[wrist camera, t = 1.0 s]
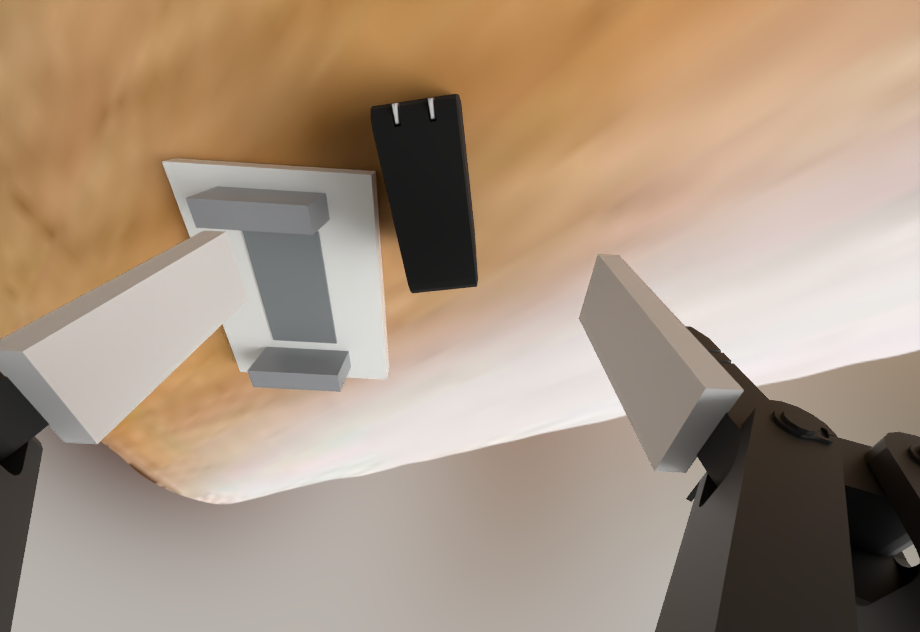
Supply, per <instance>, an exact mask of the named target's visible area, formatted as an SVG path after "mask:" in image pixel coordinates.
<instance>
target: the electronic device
mask: <svg viewBox="0 0 920 632" xmlns="http://www.w3.org/2000/svg"><path fill="white" fill-rule="evenodd" d="M371 123H372V129H373V134H374V138H375V142H376V147H377V151H378V155H379V160H380V164H381V168H382V173H383V177H384V181H385V186H386V190H387V194H388V199H389V203H390V208H391V212H392V216H393V221H394V225H395V229H396V234H397V238H398V242H399V247H400V251H401V255H402V260H403V264H404V268H405V273H406V277H407V281H408V285H409V288H410V291H411V292H412V293H419V292H429V291H438V290H448V289H457V288H467V287H476V286H477V282H478V274H477V259H476V244H475V230H474V220H473V211H472V201H471V192H470V182H469V173H468V163H467V154H466V144H465V135H464V125H463V116H462V106H461V100H460V97H459V95H458V94H452V95H445V96H439V97H433V98H425V99H419V100H412V101H405V102H400V103H392V104H385V105H378V106H372V108H371Z"/></svg>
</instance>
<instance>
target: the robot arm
mask: <svg viewBox="0 0 920 632" xmlns="http://www.w3.org/2000/svg"><path fill="white" fill-rule="evenodd" d="M247 300H248V298H247V295H246V291H245V288H244V285H243V282H242V279H241V276H240V273H239V270H238V267H237V264H236V260H235V257H234V254H233V251H232V248H231V245H230V242H229V239H228V236H227V232H225V231H208V230H204V231H202V232H200V233H198V234H196V235H194V236H192V237H190V238H189V239H187V240H185V241H183V242H181V243H179V244H177V245H176V246H174V247H172V248H170V249H168V250H166V251H164V252H162V253H161V254H159V255H157V256H155V257H153V258H151V259H149V260H147V261H146V262H144V263H142V264H140V265H138V266H136V267H134V268H132V269H131V270H129V271H127V272H125V273H123V274H121V275H119V276H117V277H116V278H114V279H112V280H110V281H108V282H106V283H104V284H103V285H101V286H99V287H97V288H95V289H93V290H91V291H89V292H88V293H86V294H84V295H82V296H80V297H78V298H76V299H74V300H73V301H71V302H69V303H67V304H65V305H63V306H61V307H59V308H58V309H56V310H54V311H52V312H50V313H48V314H46V315H45V316H43V317H41V318H39V319H37V320H35V321H33V322H31V323H30V324H28V325H26V326H24V327H22V328H20V329H18V330H16V331H15V332H13V333H11V334H9V335H7V336H5V337H3V338H1V339H0V632H10V631H11V626H12V620H13V614H14V609H15V603H16V597H17V591H18V586H19V580H20V575H21V569H22V563H23V557H24V552H25V546H26V541H27V535H28V529H29V524H30V518H31V513H32V507H33V501H34V496H35V490H36V484H37V479H38V473H39V467H40V462H41V456H42V450H43V448H42V445H41V443H40V442H39V440H38V439H37V438H36V437H35V435H36V434H38V433H39V432H40V431H41V430H43V429H44V428H45V427H46V426H48V425H49V426H50V427H51V429H52V430H53V431H54V432H55V433H56V434H57V435H58V436H59V437H60V439H61V440H62V441H63V442H66V443H67V442H68V443H86V444H87V443H88V444H98V443H99V442H100V441H101V440H102V439H103V438H104V437H105V436H106V435H107V434H108V433H109V432H111V431H112V430H113V429H114V428H115V427H116V426H117V425H118V424H119V423H120V422H121V421H122V420H123V419H124V418H125V417H126V416H127V415H128V414H129V413H130V412H131V411H132V410H133V409H134V408H136V407H137V406H138V405H139V404H140V403H141V402H142V401H143V400H144V399H145V398H146V397H147V396H148V395H149V394H150V393H151V392H152V391H153V390H154V389H155V388H156V387H157V386H158V385H159V384H161V383H162V382H163V381H164V380H165V379H166V378H167V377H168V376H169V375H170V374H171V373H172V372H173V371H174V370H175V369H176V368H177V367H178V366H179V365H180V364H181V363H182V362H183V361H185V360H186V359H187V358H188V357H189V356H190V355H191V354H192V353H193V352H194V351H195V350H196V349H197V348H198V347H199V346H200V345H201V344H202V343H203V342H204V341H205V340H206V339H207V338H208V337H210V336H211V335H212V334H213V333H214V332H215V331H216V330H217V329H218V328H219V327H220V326H221V325H222V324H223V323H224V322H225V321H226V320H227V319H228V318H229V317H230V316H231V315H232V314H233V313H235V312H236V311H237V310H238V309H239V308H240V307H241V306H242V305H243V304H244V303H245V302H246V301H247ZM579 319H580V321H581V323H582V325H583V327H584V329H585V331H586V333H587V335H588V337H589V340H590V342H591V344H592V346H593V348H594V350H595V352H596V354H597V356H598V358H599V360H600V362H601V364H602V366H603V368H604V370H605V372H606V374H607V376H608V378H609V380H610V382H611V384H612V386H613V388H614V390H615V392H616V394H617V396H618V398H619V400H620V402H621V404H622V406H623V408H624V410H625V412H626V414H627V416H628V418H629V420H630V422H631V425H632V426H633V429H634V431H635V433H636V435H637V437H638V439H639V441H640V443H641V445H642V447H643V449H644V451H645V452H646V455H647V457H648V459H649V461H650V463H651V465H652V467H653V469H654V471H663V472H683V473H686V472H687V471H688V469H689V468H690V466H691V465H692V463H693V462H694V461H695V459H696V458H697V457H698V458H699V460H700V461H701V463H702V465H703V466H704V468H705V469H706V471H707V472H706V473H705V475H704V476H703V477H702V479H701V480H700V481H699V482H698V484H697V485H696V486H695V488H694V489H693V490H692V492H691V493H690V494H689V496H688V497H687V498H686V499H687V500H689V501H692V500H693V499H694V498H695V499H694V502H693V506H692V509H691V512H690V516H689V519H688V522H687V526H686V529H685V533H684V536H683V539H682V543H681V546H680V549H679V553H678V556H677V560H676V563H675V566H674V569H673V573H672V576H671V580H670V583H669V586H668V590H667V593H666V596H665V600H664V603H663V606H662V610H661V613H660V617H659V620H658V623H657V627H656V630H655V632H920V564H918V565H917V566H914V567H911V566H910V565H909V564H908V562H907V560H906V558H905V556H904V554H903V552H902V551H903V550H904V549H906V548H908V547H909V546H911V545H912V544H914V546H915V548H916V549H917V552H918V555H919V558H920V437H918V436H915V435H911V434H906V433H901V432H894V433H888V434H887V435H886V436H884V437H883V438H882V439H881V440H880V441H879V442H878V443H877V444H875V445H874V446H873V447H871V446H867V445H864V444H860V443H856V442H853V441H849V440H845V439H842V438H838V437H837V436H836V434H835V433H834V432H833V431H832V430H831V429H830V428H829V427H828V426H827V425H826V424H825V423H824V422H822V421H820V420H819V419H818V418H816V417H815V416H814V415H812V414H810V413H808V412H806V411H804V410H802V409H801V408H799V407H797V406H793V405H791V404H787V403H785V402H781V401H774V400H769V399H768V398H767V397H766V396H765V395H764V394H763V393H762V392H761V391H760V390H759V389H758V388H757V387H756V386H755V385H754V384H753V383H752V382H751V381H750V380H749V379H748V378H747V377H746V376H745V375H744V374H743V373H742V372H741V371H740V370H739V368H738V367H737V366H736V365H735V364H731V360H730V359H729V358H728V357H727V356H726V355H725V354H724V353H721V350H720V349H719V348H718V347H717V346H716V345H715V344H714V343H713V342H712V341H711V340H710V339H709V338H708V337H706V336H705V335H703V334H702V333H700V332H698V331H697V330H695V329H694V328H692V327H686V326H684V325H683V324H682V323H681V321H680V320H679V319H678V318H677V317H676V316H675V315H674V314H673V313H672V312H671V311H670V310H669V309H668V307H667V306H666V305H665V304H664V303H663V302H662V301H661V300H660V299H659V298H658V297H657V296H656V294H655V293H654V292H653V291H652V290H651V289H650V288H649V287H648V286H647V285H646V284H645V283H644V282H643V280H642V279H641V278H640V277H639V276H638V275H637V274H636V273H635V272H634V271H633V270H632V269H631V267H630V266H629V265H628V264H627V263H626V262H625V261H624V260H623V259H622V258H621V257H620V256H619V255H606V254H598V256H597V259H596V262H595V266H594V269H593V273H592V276H591V279H590V283H589V286H588V289H587V293H586V296H585V300H584V303H583V306H582V310H581V313H580V317H579Z"/></svg>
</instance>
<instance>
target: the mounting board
mask: <svg viewBox="0 0 920 632" xmlns="http://www.w3.org/2000/svg"><path fill="white" fill-rule="evenodd" d="M162 163H163V166H164V169H165V171H166V174H167V177H168V180H169V182H170V185H171V188H172V190H173V193H174V196H175V198H176V201H177V204H178V206H179V209H180V212H181V214H182V217H183V220H184V222H185V225H186V228H187V230H188V233H189V236H190V237H192V236H194V235H196V234H198V233H200V232H202V231H204V230H208V231H225V232H227V236H228V239H229V242H230V245H231V248H232V251H233V254H234V257H235V260H236V264H237V267H238V270H239V273H240V276H241V279H242V282H243V285H244V288H245V291H246V295H247V298H248V300H247V301H246V302H245V303H244V304H243V305H242V306H241V307H240V308H239V309H238V310H237V311H236V312H235V313H233V314H232V315H231V316H230V317H229V318H228V319H227V320H226V321H225V322H224V323H223V327H224V329H225V332H226V335H227V337H228V340H229V343H230V345H231V348H232V351H233V353H234V356H235V359H236V362H237V364H238V367H239V370H240V372H248V374H249V377H250V380H251V382H252V385H253V387H262V388H281V389H300V390H319V391H338V392H340V391H341V389H342V387H343V384H344V382H345V380H346V377H348V378H367V379H385V380H387V376H388V373H389V359H388V344H387V329H386V315H385V300H384V285H383V270H382V255H381V241H380V226H379V211H378V196H377V181H376V171H366V170H351V169H335V168H320V167H305V166H289V165H274V164H258V163H243V162H228V161H212V160H197V159H182V158H175V159H170V160H166V161H162Z"/></svg>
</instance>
